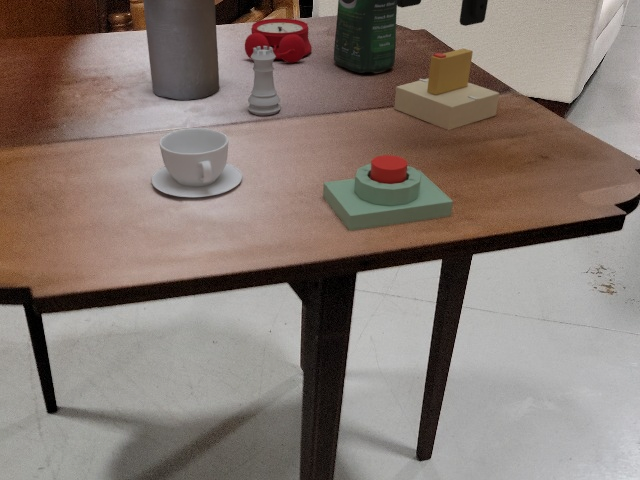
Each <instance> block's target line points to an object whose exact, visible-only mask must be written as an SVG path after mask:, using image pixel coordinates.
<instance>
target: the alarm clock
mask: <svg viewBox="0 0 640 480" xmlns="http://www.w3.org/2000/svg"><path fill="white" fill-rule="evenodd" d="M250 29H251V34H249V35H248V36H247V37H246V39H245V41H244V51H245V54H246V55H247V57H248V59H250V60H252V58H251V55H252V54H253V48H256V50H257V47H258V46H260V47H261V50H264V46H267V50H269V47H272V49H273V53H274V54H275V56H276V57H275V59H274V60H282V61H284V62H285V63H290V64H293V63H298V62H299V61H301V60H302V59H303V57H305V56H307V55H309V54H311V52H312V50H313V47H312V44H311V42H310V39H309V25H308V23H307V22H305V21H302V20H299V19H293V18H268V19H261V20H257V21H256V22H254V23H252V25H251V28H250Z"/></svg>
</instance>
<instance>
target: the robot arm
mask: <svg viewBox="0 0 640 480" xmlns="http://www.w3.org/2000/svg"><path fill="white" fill-rule="evenodd" d="M421 3H422V0H397V8H402V9H403V8H407V7H413V6H418V5H420V4H421ZM488 3H489V0H462V1H461V9H460V14H459V15H460V16H459V24H460V26H464V27H467V26H471V25H476V24H481V23H482V24H483V22H484V21H485V20H486V14H487V10H488Z"/></svg>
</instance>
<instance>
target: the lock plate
mask: <svg viewBox="0 0 640 480" xmlns="http://www.w3.org/2000/svg"><path fill="white" fill-rule="evenodd" d="M428 80H429V77H428V78H424V79H423V78H418V80H416V81H413V82H409V83H405V84H402V85H397V86H396V87H395V97H394V107H393V108H394V110H396V111H399V112H401V113H404V114H406V115H409V116H411V117H414V118H416V119H419V120H422V121H425V122H426V123H428V124H431V125H433V126H434V125H435V126H437V127H440V128H442V129H445V130H447V131H451V130H453V129H456V128H457V129H458V128H460V127H463V126H466V125H469V124H474V123H477V122H479V121H480V122H481V121H483V120H486V119H489V118H492V117H496V115H497V110H498V103H499V98H500V92H498V91H495V90H492V89H489V88H487V87H483V86H480V85H477V84H475V83H472V82H468V86H466V87H463V88H459V89H456V90H452V91H449V92H445V93H442V94H438V95H434V94H431V93H429V92H427V89H428Z"/></svg>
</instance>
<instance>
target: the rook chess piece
mask: <svg viewBox="0 0 640 480" xmlns="http://www.w3.org/2000/svg"><path fill="white" fill-rule="evenodd" d="M275 57H276V56H275V54H274V53H273V49H272V47H269V50H267V46H264V50H261V47H260V46H258V47H257V50H256V48H253V54H252V55H251V58H252V59H251V60H252V61H253V62H254V66H253V67H252V70H253V71H254V72H253V73H254V78H253V86H252V90H251V91H250V95H249V96H248V99H247V102H248V104H249V105H248V106H247V109H248V111H249V112H250V113H251V114H253V115H254V116H260V117H261V116H262V117H263V116H264V117H265V116H273V115H275V114H277V113H278V112H279V111H280V109H281V105H280V104H279V103H280V102H281V99H280V96H279V94H277V93H278V92H277V90H276V88H275V82H274V70H275V67H274V65H273V62H274V61H275V60H276V59H275Z"/></svg>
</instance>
